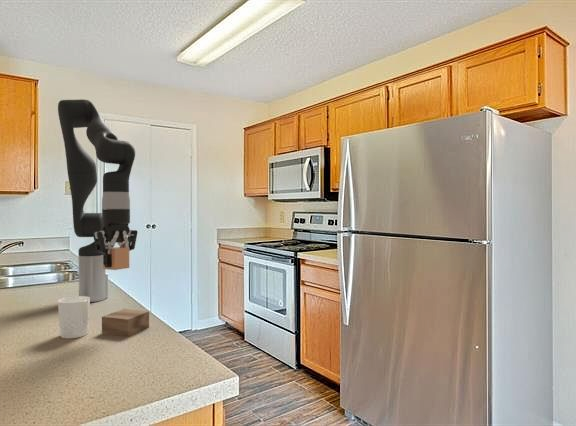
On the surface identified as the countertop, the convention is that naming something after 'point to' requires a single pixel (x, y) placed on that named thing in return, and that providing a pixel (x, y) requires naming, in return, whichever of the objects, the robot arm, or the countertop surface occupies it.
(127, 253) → the terracotta block
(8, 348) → the countertop surface
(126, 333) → the walnut block
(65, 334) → the white cup
